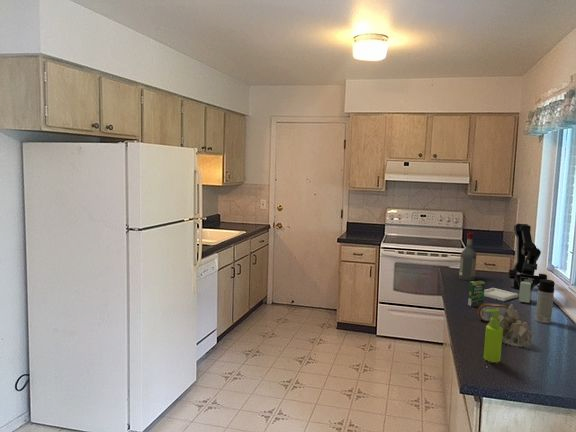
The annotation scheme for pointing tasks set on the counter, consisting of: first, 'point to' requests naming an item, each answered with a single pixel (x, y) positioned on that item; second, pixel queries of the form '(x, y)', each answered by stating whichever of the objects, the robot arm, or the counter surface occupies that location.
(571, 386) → the counter surface
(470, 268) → the liquor
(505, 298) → the tray
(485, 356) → the soap dispenser
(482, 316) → the tin
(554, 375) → the counter surface
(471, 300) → the coffee box
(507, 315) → the grey brown jagged piece
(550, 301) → the spray can
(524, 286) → the block
